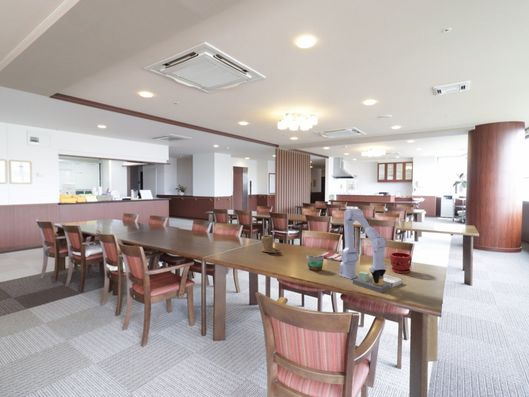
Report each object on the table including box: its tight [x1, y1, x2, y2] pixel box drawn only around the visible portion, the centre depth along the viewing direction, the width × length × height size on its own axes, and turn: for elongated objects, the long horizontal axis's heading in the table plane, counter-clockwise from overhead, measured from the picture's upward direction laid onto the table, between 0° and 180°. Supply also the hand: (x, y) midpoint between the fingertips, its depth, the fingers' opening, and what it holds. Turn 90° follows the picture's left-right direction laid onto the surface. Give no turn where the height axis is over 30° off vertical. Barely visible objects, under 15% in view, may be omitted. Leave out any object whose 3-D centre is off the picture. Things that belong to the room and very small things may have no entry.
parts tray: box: [369, 273, 403, 288], centre depth 172 cm, size 16×12×2 cm
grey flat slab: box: [352, 277, 390, 294], centre depth 165 cm, size 18×9×2 cm, turn 38°
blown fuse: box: [372, 276, 384, 286], centre depth 161 cm, size 5×3×7 cm, turn 38°
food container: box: [306, 254, 325, 272], centre depth 194 cm, size 12×6×10 cm, turn 82°
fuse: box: [358, 270, 370, 282], centre depth 168 cm, size 5×3×7 cm, turn 38°
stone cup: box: [261, 234, 281, 254], centre depth 245 cm, size 15×12×15 cm
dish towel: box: [317, 251, 342, 263], centre depth 228 cm, size 17×23×3 cm
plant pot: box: [389, 251, 412, 275], centre depth 192 cm, size 13×13×12 cm
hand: (377, 282), depth 161 cm, fingers closed on blown fuse, 3 cm apart
